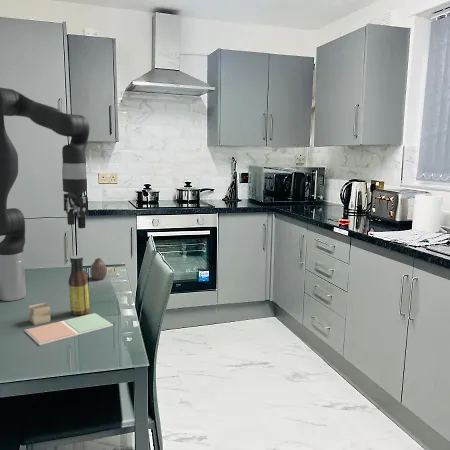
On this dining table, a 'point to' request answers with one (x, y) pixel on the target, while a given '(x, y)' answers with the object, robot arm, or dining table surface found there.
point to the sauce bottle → (78, 287)
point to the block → (39, 313)
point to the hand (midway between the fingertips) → (76, 226)
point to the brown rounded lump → (98, 269)
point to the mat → (67, 328)
